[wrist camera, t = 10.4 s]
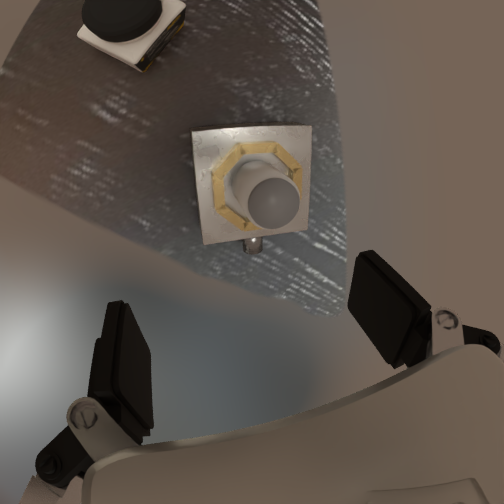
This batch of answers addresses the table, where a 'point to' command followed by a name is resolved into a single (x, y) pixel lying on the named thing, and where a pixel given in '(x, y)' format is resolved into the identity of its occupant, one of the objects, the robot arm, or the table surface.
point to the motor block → (227, 164)
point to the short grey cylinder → (266, 195)
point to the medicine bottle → (131, 28)
